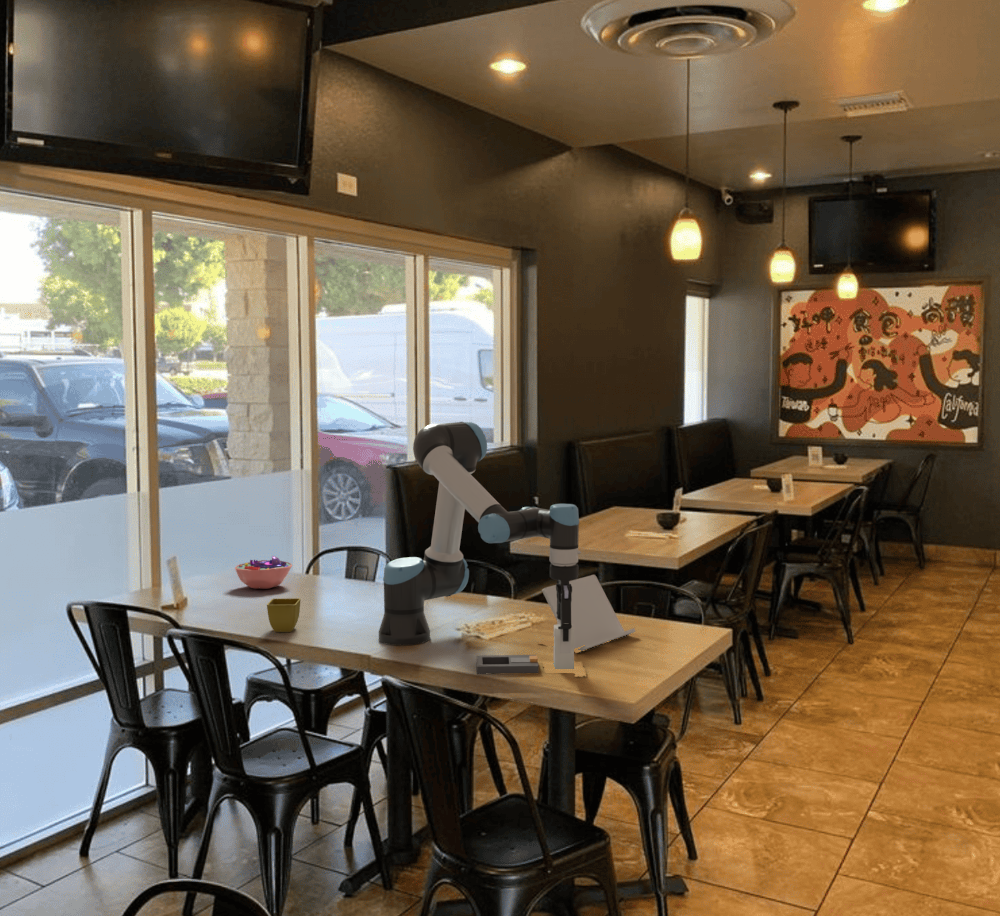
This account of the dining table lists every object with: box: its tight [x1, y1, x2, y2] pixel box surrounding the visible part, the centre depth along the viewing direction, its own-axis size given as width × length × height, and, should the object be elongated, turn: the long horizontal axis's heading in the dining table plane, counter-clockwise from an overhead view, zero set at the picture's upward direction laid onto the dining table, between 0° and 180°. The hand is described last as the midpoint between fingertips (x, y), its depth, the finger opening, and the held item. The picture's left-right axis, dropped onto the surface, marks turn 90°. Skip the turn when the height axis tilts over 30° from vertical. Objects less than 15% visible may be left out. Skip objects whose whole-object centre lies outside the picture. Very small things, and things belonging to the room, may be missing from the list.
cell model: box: [234, 555, 293, 590], centre depth 378 cm, size 17×20×11 cm
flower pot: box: [266, 597, 301, 633], centre depth 321 cm, size 9×9×9 cm
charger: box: [553, 624, 575, 669], centre depth 279 cm, size 5×4×12 cm
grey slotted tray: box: [476, 654, 540, 675], centre depth 279 cm, size 16×10×4 cm, turn 92°
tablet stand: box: [541, 574, 636, 652], centre depth 308 cm, size 18×25×17 cm
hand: (563, 648), depth 279 cm, fingers open, 8 cm apart
